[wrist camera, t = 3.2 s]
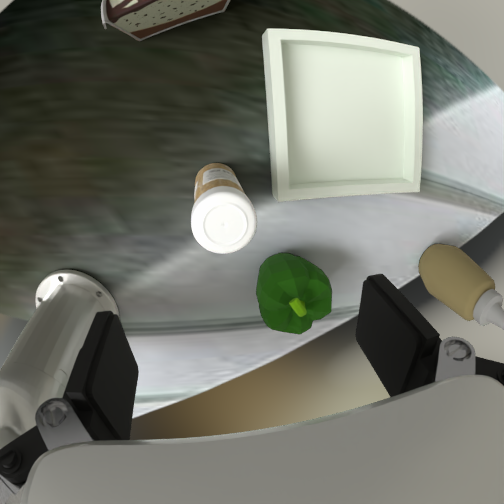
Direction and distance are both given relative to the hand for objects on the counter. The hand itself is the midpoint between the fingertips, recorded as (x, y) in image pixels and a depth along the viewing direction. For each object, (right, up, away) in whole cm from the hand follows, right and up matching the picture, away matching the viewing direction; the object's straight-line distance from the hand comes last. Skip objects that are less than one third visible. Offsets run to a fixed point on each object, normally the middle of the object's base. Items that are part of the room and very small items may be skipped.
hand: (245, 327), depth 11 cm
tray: (+11, +18, +20) cm, 29 cm away
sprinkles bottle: (-4, +10, +22) cm, 24 cm away
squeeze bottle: (+28, +1, +31) cm, 42 cm away
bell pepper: (+4, 0, +28) cm, 28 cm away
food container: (-8, +29, +13) cm, 32 cm away
